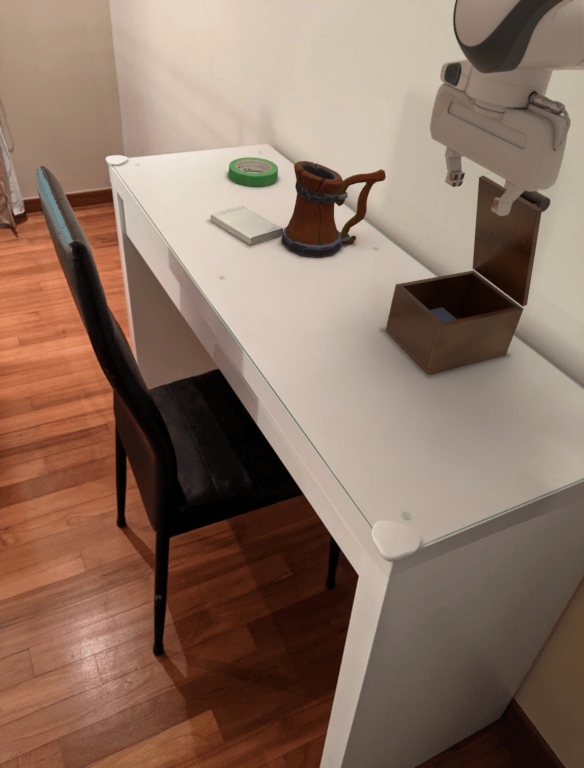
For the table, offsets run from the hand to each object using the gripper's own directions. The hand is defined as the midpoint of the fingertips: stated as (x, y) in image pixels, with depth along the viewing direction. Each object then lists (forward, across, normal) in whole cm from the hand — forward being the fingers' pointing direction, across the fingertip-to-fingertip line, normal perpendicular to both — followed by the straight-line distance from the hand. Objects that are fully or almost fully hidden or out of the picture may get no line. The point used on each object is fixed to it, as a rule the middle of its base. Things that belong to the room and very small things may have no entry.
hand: (475, 198), depth 78 cm
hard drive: (+23, +45, +13) cm, 52 cm away
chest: (+23, 0, -2) cm, 24 cm away
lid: (+7, 0, -7) cm, 10 cm away
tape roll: (+23, +69, +2) cm, 73 cm away
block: (+23, 0, 0) cm, 23 cm away
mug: (+23, +35, 0) cm, 42 cm away
